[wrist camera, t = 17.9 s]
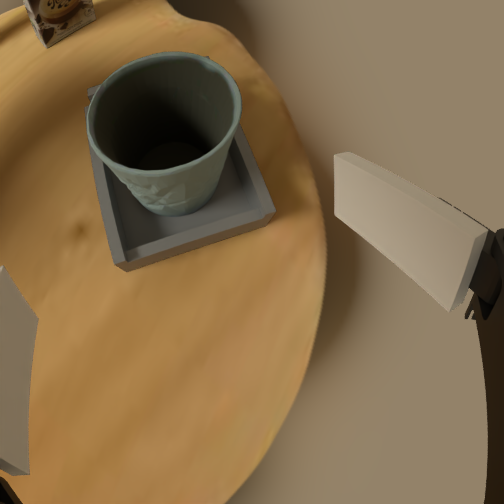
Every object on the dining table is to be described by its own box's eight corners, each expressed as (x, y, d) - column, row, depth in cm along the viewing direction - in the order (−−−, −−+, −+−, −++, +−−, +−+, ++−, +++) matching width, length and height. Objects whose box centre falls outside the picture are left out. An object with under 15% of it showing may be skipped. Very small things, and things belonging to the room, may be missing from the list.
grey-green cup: (242, 155, 31) (265, 77, 19) (198, 245, 28) (197, 201, 17) (153, 121, 30) (139, 38, 18) (104, 203, 28) (56, 143, 16)
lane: (265, 226, 31) (283, 200, 24) (126, 272, 28) (105, 258, 21) (213, 96, 33) (218, 54, 26) (95, 130, 30) (77, 92, 23)
